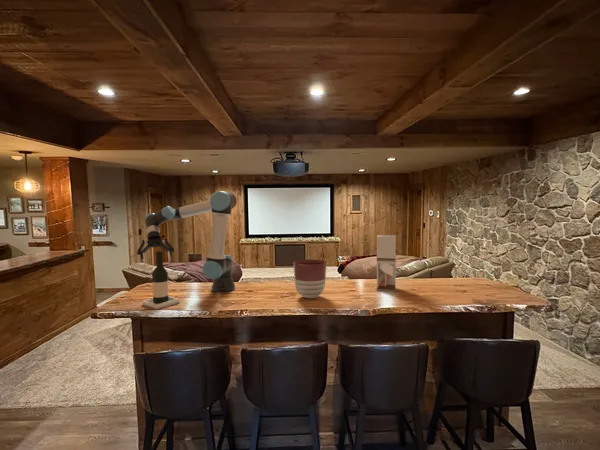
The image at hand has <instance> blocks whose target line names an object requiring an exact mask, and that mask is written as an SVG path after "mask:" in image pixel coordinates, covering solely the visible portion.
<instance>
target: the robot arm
mask: <svg viewBox="0 0 600 450" xmlns="http://www.w3.org/2000/svg"><path fill="white" fill-rule="evenodd" d="M237 201H238V200H237V197H236V195H235V194H234V193H232V192H230V191H225V190H219V191H215V192H214V193H213V194H212V195H211V196H210V199H209V200H204V201H200V202H197V203H192V204H188V205H184V206H180V207H176V208H173V207H172V206H170V205H167V206H165V207H163V208H161V210H159V211H157V212H156V213H154V212H151V213H148V214H146V216H145V219H144V223H145V226H146V227H145V228H146V229H145V230H146V237H147V238H146V239H147V240H145V239H142V241H141V244H140V245H139V247H138V250H137V251H136V255H137V256H140V259H141V260H142V261H143V265H144V266H145V265H146V258H145V257H146V255H145V254H146V252H147V251H149V249H151V248H158V247H159V248H161V249H162V250H164V251H165V252H167V258H168V263H171V260H172V259H171V258H172V256H173V254H172V253H175V248H174V247H173V246H172V245H171V243H170V242H169V241H168V239H167V238H164V239H162V236H161V231H160V230H161V229H160V226H161V225H163V224H164V223H165V222H168V221H178V220H179V221H180V220H181V219H185V218H190V217H193V216H198V215H201V214H207V213H210V212H211V214H212V215H213V219H212V229H211V238H210V239H211V240H210V247H209V254H207V255H206V260H205V262H204V264H203V266H202V273H203V275H204V276H205V277H206V278H207V279H210V280H213V281H212V284H211V291H212V292H216V293H225V292H227V293H228V292H231V291H234V290H236V284H235V281H234V279H233V262H232V261H233V258H232V255H229V254H225V246H226V236H227V229H228V228H227V227H228V220H229V216H231V214H232V210H233V209H234V208H235V207H236V206H237V203H238V202H237ZM146 244H147V245H146Z"/></svg>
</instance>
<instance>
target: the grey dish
mask: <svg viewBox="0 0 600 450" xmlns="http://www.w3.org/2000/svg"><path fill="white" fill-rule="evenodd" d="M141 303H142V306H143V305H144V307H146V308H147V307H148V308H151V309H154V310H160V309H163V308H166V307H171V306H174V305H179V304H180V298H177V297H173V296H169V301H167V302H164V303H160V304H155V303H153V297H152V298H149V299H146V300H142V302H141Z"/></svg>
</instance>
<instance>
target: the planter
mask: <svg viewBox="0 0 600 450" xmlns="http://www.w3.org/2000/svg"><path fill="white" fill-rule="evenodd" d="M326 272H327V261H325V260H324V259H323V260H321V259H300V260H299V259H298V260H294V261H293V274H294V275H293V276H294V277H293V278H294V286H295V289H296V291H297V293H298V294H299V295H300V296H301V297H303V298H304V299H310V300H311V299H315V298H317V297H319V296H321V294H322V293H323V292H324V291H325V286H326V275H327V273H326Z"/></svg>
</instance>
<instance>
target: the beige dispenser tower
mask: <svg viewBox="0 0 600 450" xmlns="http://www.w3.org/2000/svg"><path fill="white" fill-rule="evenodd" d="M396 239H397V236H396V235H394V234H393V235H392V234H377V235H376V292H377V291H378V292H389V293H390V292H391V293H392V292H393V293H395V292H396V280H397V278H396V275H397V274H396V273H397V271H396V269H397V268H396V265H397V264H396V263H397V262H396V261H397V257H396V256H397V255H396V250H397V248H396V247H397V241H396Z"/></svg>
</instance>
